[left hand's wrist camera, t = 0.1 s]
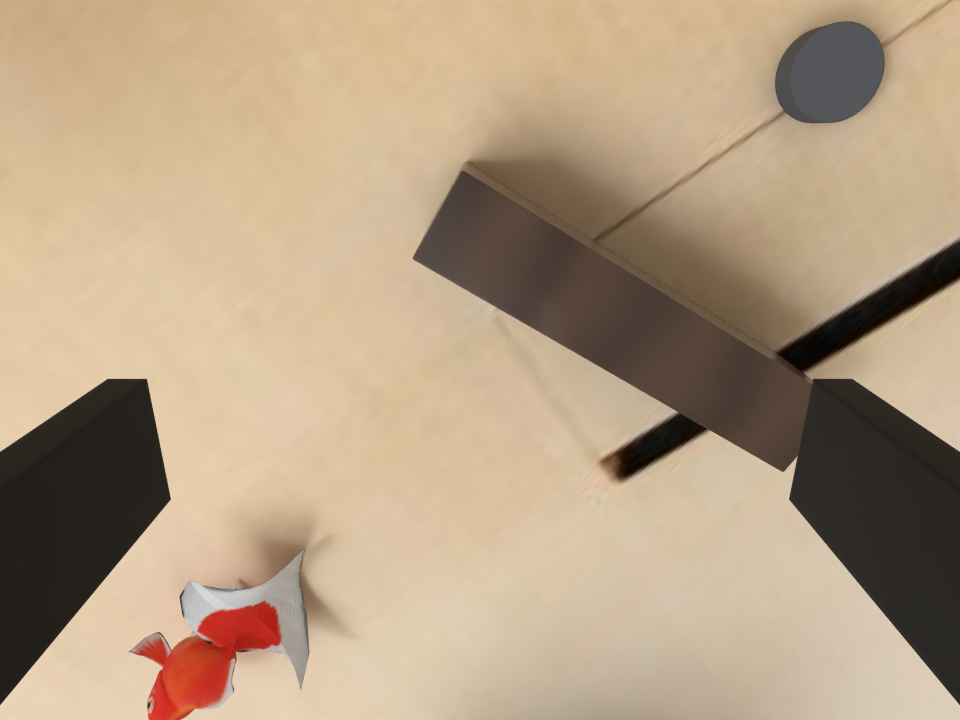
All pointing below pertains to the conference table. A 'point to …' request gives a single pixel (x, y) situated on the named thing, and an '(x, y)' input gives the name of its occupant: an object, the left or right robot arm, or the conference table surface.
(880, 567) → the left robot arm
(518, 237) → the bar
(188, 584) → the fish
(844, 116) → the puck
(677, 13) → the conference table surface
